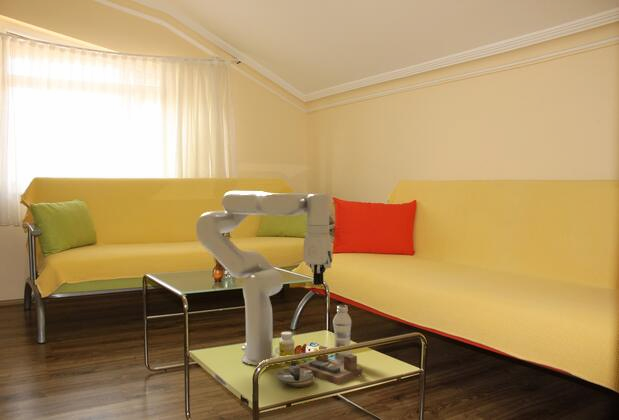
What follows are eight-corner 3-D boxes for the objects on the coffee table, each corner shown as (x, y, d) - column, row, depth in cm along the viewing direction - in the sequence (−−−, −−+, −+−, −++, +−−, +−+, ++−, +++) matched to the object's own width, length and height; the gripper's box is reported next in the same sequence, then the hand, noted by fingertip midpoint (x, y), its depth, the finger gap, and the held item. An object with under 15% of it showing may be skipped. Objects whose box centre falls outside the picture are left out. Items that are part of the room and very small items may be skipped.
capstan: (284, 391, 160) (283, 370, 160) (271, 379, 171) (271, 359, 171) (319, 386, 165) (319, 365, 165) (305, 374, 176) (305, 355, 175)
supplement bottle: (277, 358, 193) (277, 331, 193) (292, 357, 195) (292, 330, 194) (281, 363, 188) (281, 335, 188) (296, 361, 190) (296, 334, 189)
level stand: (298, 370, 180) (298, 351, 180) (322, 362, 189) (322, 344, 188) (337, 384, 167) (337, 364, 167) (362, 374, 176) (362, 355, 176)
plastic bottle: (352, 365, 185) (352, 308, 184) (333, 365, 185) (333, 308, 185) (351, 359, 192) (351, 304, 191) (332, 359, 192) (332, 304, 191)
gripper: (294, 229, 182) (295, 283, 183) (326, 232, 172) (326, 288, 172) (310, 228, 188) (310, 280, 188) (342, 230, 177) (342, 285, 178)
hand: (318, 284), depth 180 cm, fingers closed
